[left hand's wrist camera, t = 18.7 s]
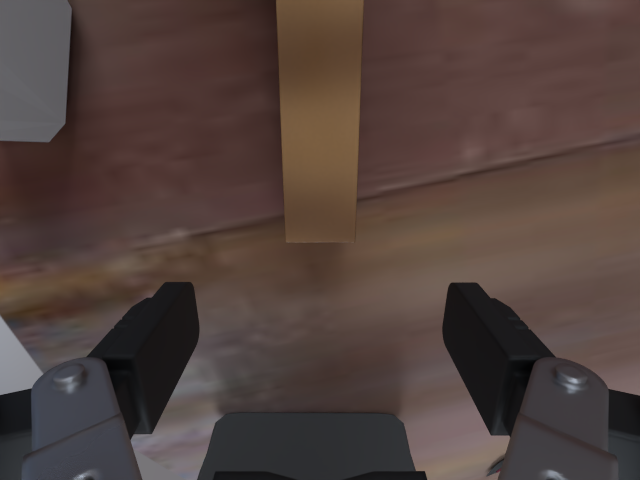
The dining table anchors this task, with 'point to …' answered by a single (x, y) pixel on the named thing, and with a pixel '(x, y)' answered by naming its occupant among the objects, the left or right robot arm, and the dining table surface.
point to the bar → (320, 116)
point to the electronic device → (33, 68)
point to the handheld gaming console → (308, 445)
